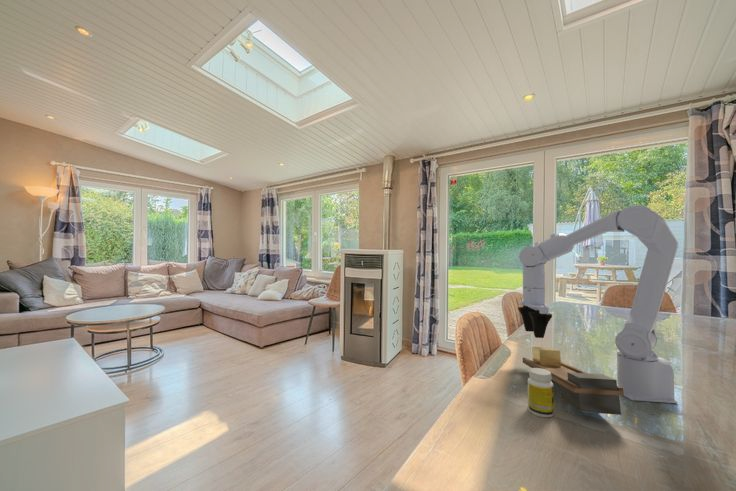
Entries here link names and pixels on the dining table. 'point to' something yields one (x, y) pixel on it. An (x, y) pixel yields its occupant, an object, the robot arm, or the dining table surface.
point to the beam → (585, 388)
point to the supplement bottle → (540, 393)
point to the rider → (546, 356)
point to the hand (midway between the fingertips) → (534, 334)
